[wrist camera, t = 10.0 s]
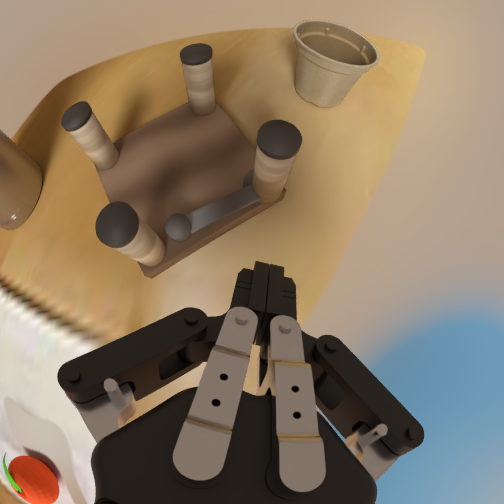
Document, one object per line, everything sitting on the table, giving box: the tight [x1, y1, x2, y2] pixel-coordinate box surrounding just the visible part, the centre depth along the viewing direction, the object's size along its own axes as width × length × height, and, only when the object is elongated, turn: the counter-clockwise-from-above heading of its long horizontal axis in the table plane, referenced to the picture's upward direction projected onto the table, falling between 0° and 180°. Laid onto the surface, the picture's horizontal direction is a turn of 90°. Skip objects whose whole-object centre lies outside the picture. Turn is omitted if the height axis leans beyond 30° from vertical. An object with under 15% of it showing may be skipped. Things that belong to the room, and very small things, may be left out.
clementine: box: [3, 454, 59, 504], centre depth 14 cm, size 8×7×7 cm
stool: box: [61, 43, 286, 278], centre depth 21 cm, size 14×14×10 cm
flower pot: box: [293, 20, 380, 107], centre depth 25 cm, size 9×9×9 cm
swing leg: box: [165, 120, 302, 242], centre depth 19 cm, size 10×3×8 cm, turn 118°
